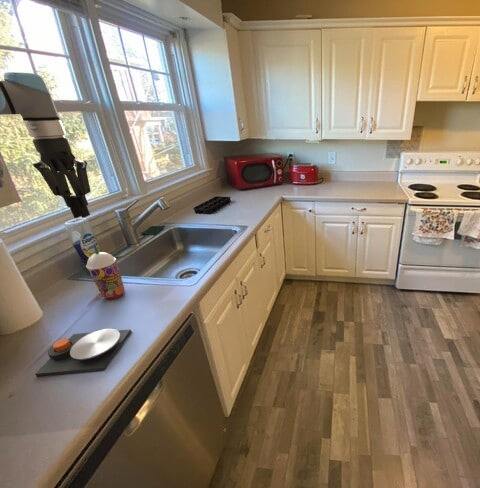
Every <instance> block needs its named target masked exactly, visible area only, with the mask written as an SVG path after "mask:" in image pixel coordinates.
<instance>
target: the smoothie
mask: <svg viewBox="0 0 480 488" xmlns="http://www.w3.org/2000/svg"><path fill="white" fill-rule="evenodd" d="M93 249H94V251H95V253H93V254H91V255H90V256H89V257H88V259H87V263H86V265H85V268H86V269H87V270H88V272H89V274H90V276H91V278H92V281H93V282H94V283H95V285H96V287H97V289H98V291H99V294H101V297H103V298H104V299H105V300H115V299H118V298H120V297H121V296H122V295H124V293H125V289H126V288H125V285H124V281H123V279H122V275H121V271H120V268H119V265H118V262H117V258H116V257H115V256H113V255H112V254H110V253H109V252H105V251H98V250H99V249H98V247H97V245H93Z"/></svg>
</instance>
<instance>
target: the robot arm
mask: <svg viewBox="0 0 480 488" xmlns="http://www.w3.org/2000/svg"><path fill="white" fill-rule="evenodd" d="M3 78H4V79H3V80H0V115H1V116H2V115H20V116H21V117H22V118H21V119H22V120H23V122H24V125H25V127H26V129H27V132H28V134H29V136H30V137H32V138H33V139H32V144H33V146H34V148H35V150H36V152H37V153H39V155H40V157H39V159H40V160H39V161H37V162H34V163H33V164H32V166H33V167H34V168H35V169H36V170H37V171H38V172H39V173H40V176H42V178H43V180H44V181H45V183H46V184H47V186H48V187H49V189H50V191H51V193H52V194H53V196H55V197H56V196H57V197H61V198H62V199H63V201H64V203H65V206H66V207H67V208H69V209H70V211H71V214H72V216H73V218H74V219H78V218H80V217H81V218H82V219H84V218H87V217H89V216H91V213H90V210H89V208H88V206H89V202H88V200H87V197H86V196H87V194H89V193H91V191H92V190H91V187H90V182H89V176H88V172H87V166H88V162H87V161H86V160H80V159H78V158H77V157H76V156H75V155H74V154H73V152H72V146H71V143H70V141H69V138H68V137H65V136H67V133H66V129H65V128H64V125H63V123H62V120H61V118H60V115H59V114H58V110H57V107H56V105H55V101H54V100H53V97H52V93H51V92H50V90H49V88H48V86H47V83H46V81H45V79H44V78H43V77H42V76H41V75H39V74H37V73H33V72H32V73H31V72H15V71H14V72H11V71H7V72H4V73H3ZM68 183H69V184H68ZM69 185H70V187H71V188H70V187H69ZM70 189H72V191H73V192H71V190H70ZM73 193H74V195H73Z"/></svg>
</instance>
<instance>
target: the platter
mask: <svg viewBox="0 0 480 488" xmlns="http://www.w3.org/2000/svg"><path fill="white" fill-rule="evenodd" d="M118 330H119V329H116V328H103V329H99V330H95V331H93V333H92V332H89V333H90V334H88V335H86V336H85V337H83V338H81V339H80V340H79V341H77V342H76V343H75V344H74V345H73V347H72V348H71V350H70V355H71V357H72V358H74V359H77V360H85V359H90V358H93V357H96V356H98V355H101V354H103V353H105V352H106V351H108V350H109V349H111V348H112V347H113V346H114V345H115V344H116V343H117V342H118V340H119V338H120V333H119V331H118Z"/></svg>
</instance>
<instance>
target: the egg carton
mask: <svg viewBox="0 0 480 488" xmlns="http://www.w3.org/2000/svg"><path fill="white" fill-rule="evenodd" d="M230 203H231V196H217V195H216V196H214V197H211V198H209V199H208V200H206V201H204V202H202V203H200V204H197V205H196V206H194V207H193V208H192V210H193V211H194V213H195V214H205V215H209V214H210V215H211V214H212V213H214V212H216V211H218V209H221V208H222V207H224V206H226V205H227V204H230Z"/></svg>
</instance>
